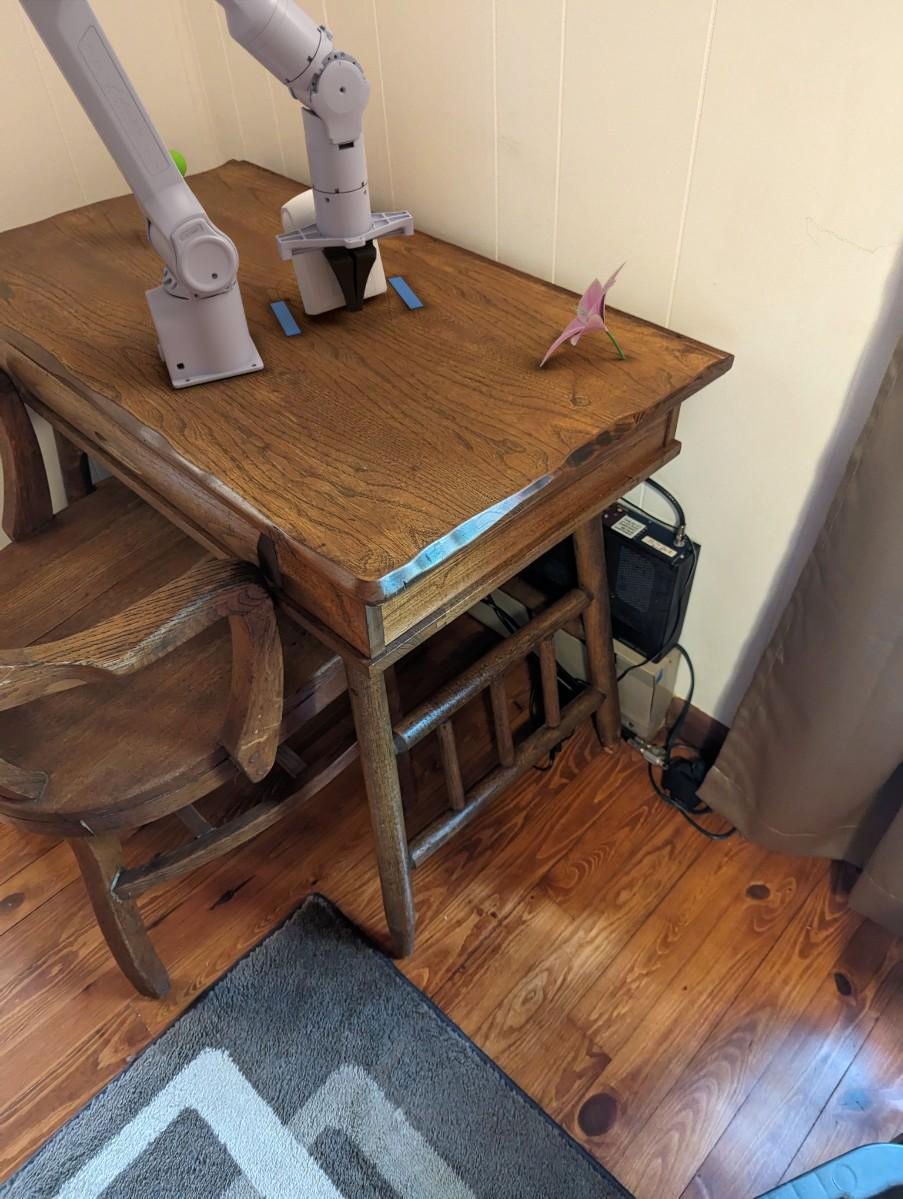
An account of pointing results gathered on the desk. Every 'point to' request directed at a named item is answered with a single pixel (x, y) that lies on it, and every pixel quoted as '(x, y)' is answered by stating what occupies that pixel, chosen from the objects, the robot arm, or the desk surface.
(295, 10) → the robot arm
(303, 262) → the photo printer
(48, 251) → the desk surface
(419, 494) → the desk surface
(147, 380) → the desk surface
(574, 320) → the lily
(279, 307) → the tape marks
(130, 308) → the desk surface
